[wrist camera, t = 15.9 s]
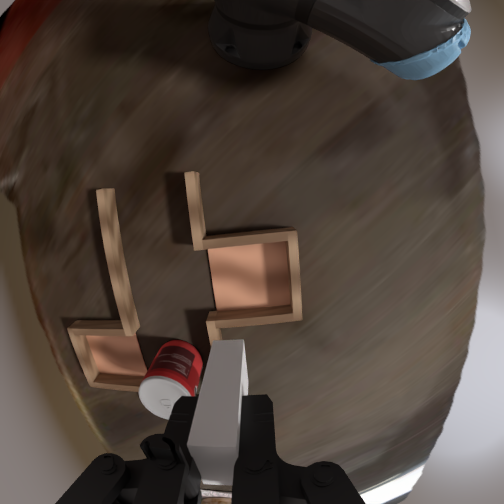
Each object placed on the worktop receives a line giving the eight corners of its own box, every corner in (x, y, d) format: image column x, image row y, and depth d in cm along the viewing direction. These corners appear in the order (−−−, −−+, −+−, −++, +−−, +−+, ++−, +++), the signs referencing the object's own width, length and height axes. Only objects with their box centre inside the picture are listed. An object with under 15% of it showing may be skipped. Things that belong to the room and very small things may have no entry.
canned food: (175, 381, 44) (160, 424, 33) (150, 346, 43) (126, 385, 32) (212, 369, 43) (203, 414, 33) (187, 331, 42) (170, 372, 31)
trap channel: (52, 204, 37) (39, 205, 34) (286, 163, 37) (290, 160, 33) (106, 394, 45) (99, 405, 42) (301, 393, 44) (304, 406, 41)
